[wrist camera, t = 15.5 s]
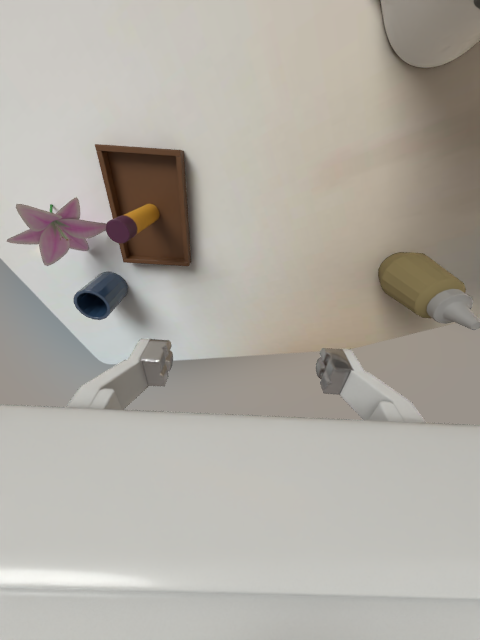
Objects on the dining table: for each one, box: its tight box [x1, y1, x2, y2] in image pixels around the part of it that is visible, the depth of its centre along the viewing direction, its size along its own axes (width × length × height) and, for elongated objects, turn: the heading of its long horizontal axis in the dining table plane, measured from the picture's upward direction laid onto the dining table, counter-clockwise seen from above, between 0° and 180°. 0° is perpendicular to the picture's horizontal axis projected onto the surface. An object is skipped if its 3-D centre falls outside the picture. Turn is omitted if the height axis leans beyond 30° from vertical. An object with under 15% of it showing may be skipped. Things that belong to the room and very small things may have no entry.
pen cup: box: [74, 272, 128, 320], centre depth 42 cm, size 6×6×8 cm
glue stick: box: [106, 204, 160, 243], centre depth 32 cm, size 3×3×12 cm
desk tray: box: [95, 144, 191, 266], centre depth 36 cm, size 16×11×2 cm
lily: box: [7, 198, 107, 266], centre depth 35 cm, size 12×12×10 cm
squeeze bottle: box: [378, 252, 480, 330], centre depth 35 cm, size 8×8×18 cm
